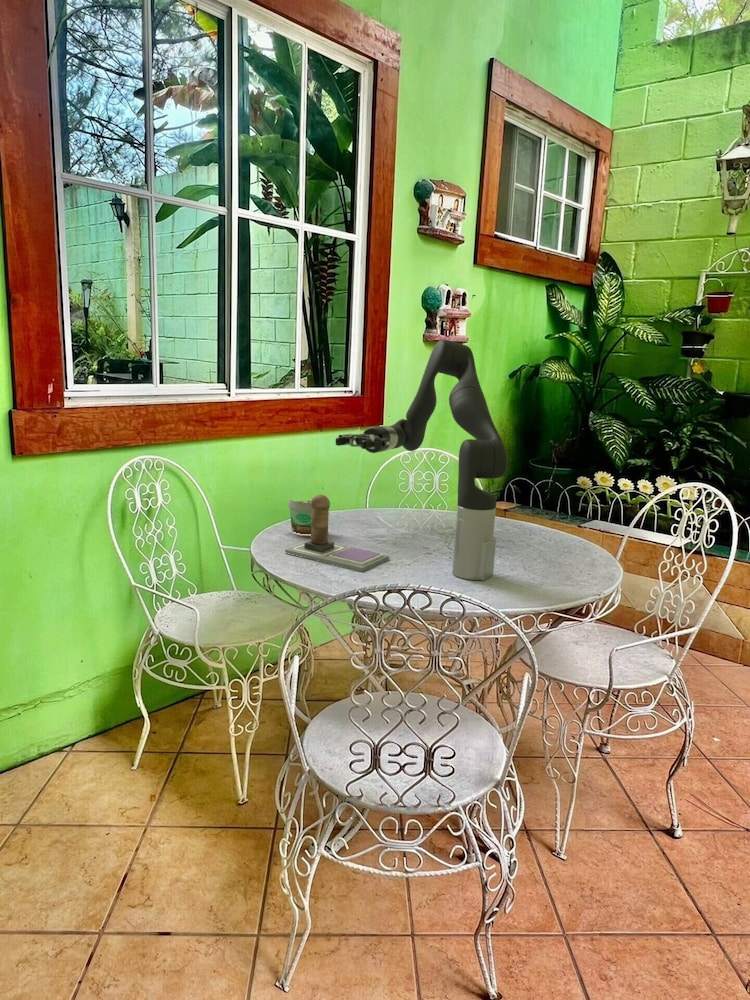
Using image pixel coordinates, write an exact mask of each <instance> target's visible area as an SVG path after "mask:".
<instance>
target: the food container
mask: <svg viewBox="0 0 750 1000" xmlns="http://www.w3.org/2000/svg"><path fill="white" fill-rule="evenodd" d="M288 499H289V500H288V501H287V505H286V506H287V507H288V508H289V515H290V525H291V526H290V527H291V532H292V531H293V532H296V533H300V534H311V525H312V507H311V501H312V500H303V501H294V500H292V499H290V498H288Z"/></svg>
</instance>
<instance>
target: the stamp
mask: <svg viewBox="0 0 750 1000" xmlns="http://www.w3.org/2000/svg"><path fill="white" fill-rule="evenodd" d="M310 501H311V507H312V525H311V536H310V540H309V541H307V542H306V541H305V542H304V543H305V544H304V549H309V550H313V551H317V552H324V551H327V550H329V549H332V548H334V544H335V542H334V541H329V513H330V512H329V511H330V510H329V509H330V507H331V501H330V499H329V497H327V496H326V495H324V494H316V495H314V496H313V498H312V499H311V500H310Z"/></svg>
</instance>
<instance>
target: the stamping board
mask: <svg viewBox="0 0 750 1000" xmlns="http://www.w3.org/2000/svg"><path fill="white" fill-rule="evenodd" d="M305 543H306V542H304V543H300V544H297V545H295V546H292V547H290V548H289V547H288V548H286V549H284V553H285V552H287V553H290V554H294V555H298V556H297V557H299V556H302V557H301V558H303V557H306V558H305V559H307V558H310V559H309V560H311V559H314V560H313V561H315V560H319V561H322V562H321V563H323V562H326V563H325V564H327V563H330V564H329V565H332V564H334V565H333V566H336V565H338V566H337V567H340V566H342V567H341V568H344V567H346V568H345V569H348V568H349V570H352V569H353V570H354V571H357V572H364V571H367V570H369V569H371V568H374V567H376V566H377V565H380V564H382V563H385V562H387V561H389V560H390V555H387V554H383V553H380V552H376V551H370V550H367V549H366V550H365V549H362V548H357V547H353V546H346V545H342V544H338V543H334V548H332V549H329V550H327V551H324V552H317V551H313V550H309V549H304V544H305ZM290 554H289V555H290ZM294 555H293V556H294ZM319 561H318V562H319ZM353 570H352V571H353Z"/></svg>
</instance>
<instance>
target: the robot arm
mask: <svg viewBox="0 0 750 1000" xmlns="http://www.w3.org/2000/svg"><path fill="white" fill-rule="evenodd" d="M439 373H440V374H443V375H447V376H451V377H453V378H455V379H457V380H458V382H457V383H455V385H454V386H453V387H452V389H451V391H450V393H449V397H448V404H449V408H450V411H451V414H452V419H454V420H453V421H455V422H456V424H457V425H458V426H459V427H460V428H461V429H462V430H464V431H465V432H466V433H467V434H468V435H470V436H471V437H473V438H474V439H473V438H471V439H465V440H463V441H462V443H461V445H460V447H459V452H458V475H457V477H458V478H457V479H458V480H457V504H456V507H457V508H456V520H455V530H454V531H455V532H454V533H455V534H454V542H453V543H454V544H453V545H454V546H453V547H454V548H453V555H452V556H453V559H452V571H451V572H452V574H453V576H456V577H457V578H459V579H460V578H461V579H466V580H472V581H473V580H475V581H485V580H487V579H489V578H491V576H493V575H494V568H495V558H496V557H495V556H496V545H497V544H496V543H497V538H496V537H495V536H494V534H495V521H496V512H497V511H496V509H497V496H496V495H495V494H493V493H492V492H489V491H487V490H483V489H481V488H479V487H478V486H477V485H476V481H475V480H476V479H489V480H491V479H493V480H494V479H500V478H501V477H503V476H504V475H505V474H506V472H507V469H508V464H509V462H508V461H509V459H508V453H507V449H506V446H505V444H504V441H503V439H502V437H501V436H500V434H499V431H498V430H497V428H496V426H495V424H494V421H493V419H492V417H491V413H490V411H489V408H488V407H489V406H488V404H487V401H486V398H485V394H484V392H483V390H482V388H481V387H482V386H481V384H480V380H479V376H478V373H477V369H476V362H475V357H474V354H473V350H472V349H471V348H470V347H469V346H468V345H465V344H463V343H459V342H456V341H451V340H449V339H439V340H438V341H437V342H436V344H435V345H434V347H433V349H432V351H431V353H430V355H429V358H428V361H427V364H426V365H425V369H424V372H423V375H422V378H421V380H420V384H419V387H418V390H417V391H416V394H415V396H414V398H413V400H412V402H411V404H410V405H409V407H408V409H407V411H406V415H405V418H406V419H405V418H401V419H399V420H397V421H396V422H395V423H394V424H392V425H379V426H370V427H368V428H366V429H365V430H364V431H363V432H362V433H349V434H348V433H347V434H339V435H338V436H337V437H335V446H349V447H355V448H356V447H357V448H358V447H359V448H361V449H362V450H366V452H368V453H372V454H376V453H382V452H387V451H389V450H390V451H391V450H394V449H398V448H401V447H403V448H404V449H405V450H406V451H408V452H414V451H417V450H418V449H419V448H420V447H421V445H423V442H424V438H425V435H426V429H427V425H428V422H429V421H430V418H431V417H432V415H433V414H434V412H435V410H436V407H437V391H436V387H435V380H436V378H437V375H438V374H439ZM354 442H355V444H354Z"/></svg>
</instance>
